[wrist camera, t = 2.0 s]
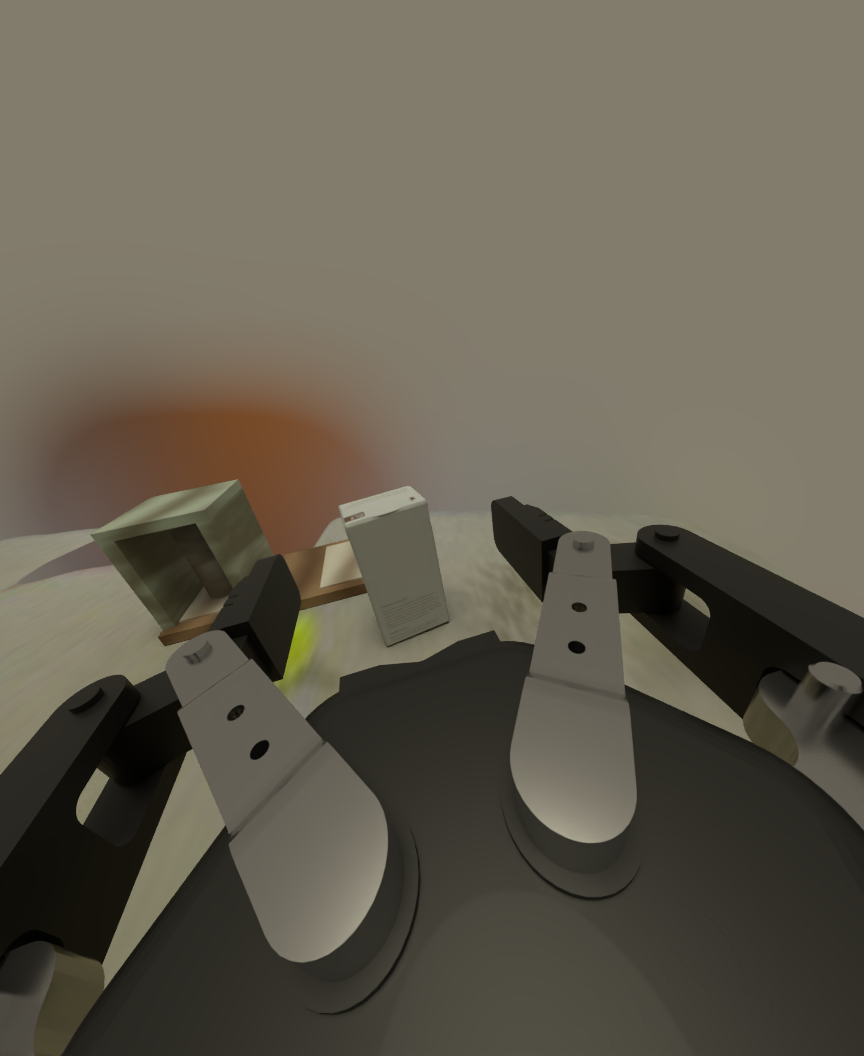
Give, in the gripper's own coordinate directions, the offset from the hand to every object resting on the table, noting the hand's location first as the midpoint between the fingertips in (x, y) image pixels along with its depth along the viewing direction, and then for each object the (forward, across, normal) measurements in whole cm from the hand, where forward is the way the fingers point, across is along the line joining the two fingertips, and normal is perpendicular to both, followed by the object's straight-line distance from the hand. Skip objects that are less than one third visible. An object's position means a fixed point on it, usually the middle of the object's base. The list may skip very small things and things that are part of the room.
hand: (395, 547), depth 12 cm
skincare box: (+12, 0, +14) cm, 19 cm away
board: (+23, +11, +14) cm, 29 cm away
